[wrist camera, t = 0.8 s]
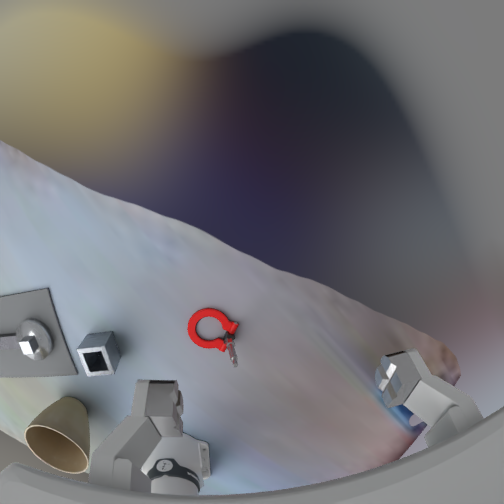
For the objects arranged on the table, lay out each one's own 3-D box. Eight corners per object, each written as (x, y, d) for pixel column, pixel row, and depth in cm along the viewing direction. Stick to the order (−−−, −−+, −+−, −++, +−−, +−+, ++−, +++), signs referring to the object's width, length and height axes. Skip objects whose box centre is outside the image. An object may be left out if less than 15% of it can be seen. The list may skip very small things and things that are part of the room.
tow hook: (181, 336, 57) (222, 353, 59) (177, 367, 45) (229, 386, 47) (198, 300, 57) (240, 319, 59) (198, 324, 44) (251, 346, 46)
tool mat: (77, 373, 53) (77, 374, 53) (0, 376, 49) (-1, 377, 48) (48, 287, 50) (47, 288, 49) (-28, 302, 45) (-30, 302, 44)
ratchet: (45, 315, 49) (34, 325, 44) (59, 354, 51) (50, 366, 46) (-18, 324, 46) (-30, 332, 40) (-5, 358, 47) (-16, 368, 42)
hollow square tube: (121, 356, 55) (114, 373, 48) (96, 359, 54) (87, 376, 47) (112, 331, 54) (104, 346, 47) (87, 334, 53) (76, 349, 46)
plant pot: (37, 397, 52) (13, 436, 36) (69, 374, 53) (45, 415, 37) (78, 437, 55) (64, 479, 40) (113, 418, 56) (102, 464, 41)
